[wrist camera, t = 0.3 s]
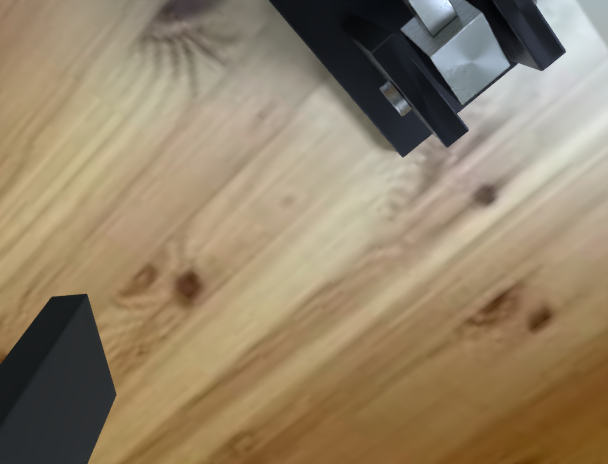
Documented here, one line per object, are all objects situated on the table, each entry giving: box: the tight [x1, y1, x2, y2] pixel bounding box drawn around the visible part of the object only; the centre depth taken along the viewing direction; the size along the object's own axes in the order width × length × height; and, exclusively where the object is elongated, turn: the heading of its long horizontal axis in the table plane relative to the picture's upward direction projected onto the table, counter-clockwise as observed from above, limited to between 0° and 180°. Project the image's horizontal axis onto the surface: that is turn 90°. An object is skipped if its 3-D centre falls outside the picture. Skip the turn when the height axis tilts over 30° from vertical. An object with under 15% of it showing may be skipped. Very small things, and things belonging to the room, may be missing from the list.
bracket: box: [269, 0, 566, 157], centre depth 25 cm, size 12×9×14 cm
